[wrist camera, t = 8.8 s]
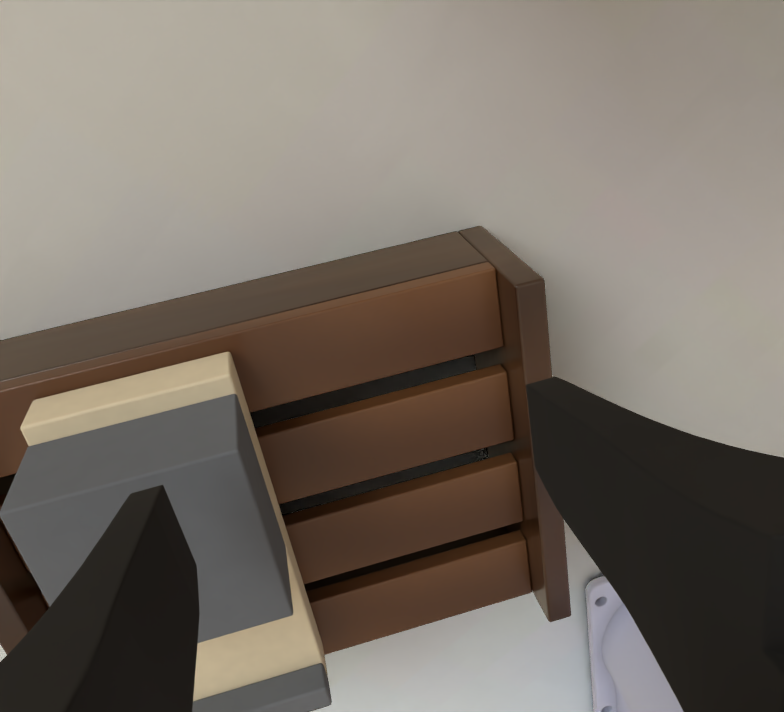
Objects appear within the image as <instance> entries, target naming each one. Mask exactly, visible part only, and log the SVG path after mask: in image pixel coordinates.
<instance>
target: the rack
mask: <svg viewBox="0 0 784 712" xmlns="http://www.w3.org/2000/svg"><path fill="white" fill-rule="evenodd" d="M224 352H230V353H231V355H232V358H233V362H234V365H235V368H236V371H237V374H238V377H239V381H240V384H241V387H242V390H243V393H244V396H245V400H246V403H247V406H248V409H249V412H254V411H258V410H262V409H266V408H270V407H273V406H277V405H281V404H285V403H289V402H293V401H297V400H300V399H304V398H308V397H312V396H316V395H320V394H323V393H327V392H331V391H335V390H339V389H343V388H346V387H350V386H354V385H358V384H362V383H366V382H370V381H373V380H377V379H381V378H385V377H389V376H393V375H396V374H400V373H404V372H408V371H412V370H416V369H419V368H423V367H427V366H431V365H435V364H439V363H443V362H446V361H450V360H454V359H458V358H462V357H466V356H469V355H473V354H474V355H475V362H476V369H477V370H474V371H471V372H467V373H463V374H459V375H455V376H452V377H448V378H444V379H440V380H436V381H433V382H429V383H425V384H421V385H417V386H414V387H410V388H406V389H402V390H398V391H395V392H391V393H387V394H383V395H379V396H376V397H372V398H368V399H364V400H360V401H356V402H353V403H349V404H345V405H341V406H337V407H334V408H330V409H326V410H322V411H318V412H315V413H311V414H307V415H303V416H299V417H296V418H292V419H288V420H284V421H280V422H277V423H273V424H269V425H265V426H261V427H258V428H255V431H256V435H257V438H258V441H259V444H260V447H261V450H262V454H263V457H264V460H265V463H266V466H267V469H268V473H269V476H270V479H271V482H272V485H273V488H274V492H275V495H276V498H277V501H278V504H282V503H286V502H290V501H293V500H297V499H300V498H304V497H308V496H311V495H315V494H319V493H322V492H326V491H329V490H333V489H337V488H340V487H344V486H348V485H351V484H355V483H359V482H362V481H366V480H369V479H373V478H377V477H380V476H384V475H388V474H391V473H395V472H398V471H402V470H406V469H409V468H413V467H417V466H420V465H424V464H427V463H431V462H435V461H438V460H442V459H446V458H449V457H453V456H457V455H460V454H464V453H467V452H471V451H475V450H478V449H482V448H486V447H487V450H488V459H484V460H480V461H477V462H473V463H470V464H466V465H462V466H459V467H455V468H452V469H448V470H444V471H441V472H437V473H434V474H430V475H426V476H423V477H419V478H416V479H412V480H408V481H405V482H401V483H398V484H394V485H390V486H387V487H383V488H379V489H376V490H372V491H369V492H365V493H361V494H358V495H354V496H351V497H347V498H343V499H340V500H336V501H333V502H329V503H325V504H322V505H318V506H315V507H311V508H307V509H304V510H300V511H297V512H293V513H289V514H286V515H282V517H283V520H284V523H285V526H286V530H287V533H288V536H289V539H290V542H291V546H292V549H293V552H294V555H295V558H296V561H297V565H298V568H299V571H300V574H301V577H302V580H303V584H304V587H305V590H306V593H307V596H308V599H309V603H310V606H311V609H312V612H313V615H314V618H315V622H316V625H317V628H318V631H319V634H320V637H321V641H322V644H323V650H324V655H325V654H329V653H332V652H335V651H339V650H342V649H345V648H349V647H352V646H355V645H359V644H362V643H365V642H369V641H372V640H375V639H378V638H382V637H385V636H388V635H392V634H395V633H398V632H402V631H405V630H408V629H412V628H415V627H418V626H422V625H425V624H428V623H432V622H435V621H438V620H442V619H445V618H448V617H452V616H455V615H458V614H462V613H465V612H468V611H472V610H475V609H478V608H482V607H485V606H488V605H492V604H495V603H498V602H502V601H505V600H508V599H511V598H515V597H518V596H521V595H525V594H528V593H531V592H532V591H533V593H534V595H535V597H536V599H537V600H538V602H539V604H540V606H541V608H542V610H543V612H544V614H545V615H546V617H547V619H548V621H549V622H553V621H556V620H559V619H563V618H566V617H569V616H571V607H570V595H569V582H568V570H567V557H566V545H565V532H564V520H563V517H562V516H561V514H560V513H559V511H558V510H557V509H556V507H555V505H554V503H553V501H552V500H551V498H550V496H549V494H548V492H547V490H546V488H545V486H544V484H543V482H542V480H541V479H540V477H539V475H538V473H537V471H536V469H535V464H534V455H533V445H532V436H531V427H530V418H529V409H528V400H527V391H526V384H530V383H534V382H537V381H541V380H545V379H548V378H552V370H551V358H550V345H549V333H548V320H547V308H546V295H545V283H544V279H543V278H542V277H541V276H540V275H539V274H537V273H536V272H535V271H534V270H533V269H532V268H530V267H529V266H528V265H527V264H526V263H524V262H523V261H522V260H521V259H520V258H519V257H517V256H516V255H515V254H514V253H513V252H511V251H510V250H509V249H508V248H507V247H506V246H504V245H503V244H502V243H501V242H500V241H499V240H497V239H496V238H495V237H494V236H493V235H491V234H490V233H489V232H488V231H487V230H486V229H484V228H483V227H482V226H477V227H473V228H469V229H465V230H461V231H459V232H456V231H455V232H451V233H447V234H443V235H439V236H434V237H430V238H426V239H422V240H418V241H414V242H409V243H405V244H401V245H397V246H393V247H389V248H384V249H380V250H376V251H372V252H368V253H364V254H359V255H355V256H351V257H347V258H343V259H339V260H335V261H330V262H326V263H322V264H318V265H314V266H310V267H305V268H301V269H297V270H293V271H289V272H285V273H280V274H276V275H272V276H268V277H264V278H260V279H255V280H251V281H247V282H243V283H239V284H235V285H230V286H226V287H222V288H218V289H214V290H210V291H205V292H201V293H197V294H193V295H189V296H185V297H180V298H176V299H172V300H168V301H164V302H160V303H155V304H151V305H147V306H143V307H139V308H135V309H130V310H126V311H122V312H118V313H114V314H110V315H105V316H101V317H97V318H93V319H89V320H85V321H80V322H76V323H72V324H68V325H64V326H60V327H55V328H51V329H47V330H43V331H39V332H35V333H31V334H26V335H22V336H18V337H14V338H10V339H6V340H1V341H0V510H1V507H2V505H3V503H4V501H5V498H6V496H7V494H8V491H9V489H10V487H11V484H12V482H13V480H14V477H15V475H16V473H17V471H18V468H19V466H20V464H21V461H22V459H23V457H24V454H25V452H26V450H27V448H28V447H29V446H28V443H27V441H26V439H25V437H24V435H23V433H22V431H21V429H20V427H21V425H22V423H23V420H24V418H25V416H26V414H27V412H28V410H29V408H30V406H31V404H32V401H34V400H36V399H40V398H44V397H48V396H52V395H56V394H60V393H64V392H68V391H72V390H76V389H80V388H84V387H88V386H92V385H96V384H100V383H104V382H108V381H112V380H116V379H120V378H124V377H128V376H132V375H136V374H140V373H144V372H148V371H152V370H156V369H160V368H164V367H168V366H172V365H176V364H180V363H184V362H188V361H192V360H196V359H200V358H204V357H208V356H212V355H216V354H220V353H224ZM49 607H50V606H49V604H48V603H47V601H46V599H45V597H44V595H43V594H42V592H41V590H40V588H39V586H38V584H37V583H36V581H35V579H34V577H33V575H32V574H31V572H30V570H29V568H28V566H27V565H26V563H25V561H24V559H23V557H22V555H21V554H20V552H19V550H18V548H17V546H16V545H15V543H14V541H13V539H12V537H11V536H10V534H9V532H8V530H7V528H6V526H5V525H4V523H3V521H2V519H1V517H0V644H1V646H2V647H3V649H4V651H5V652H6V654H7V655H8V654H9V653H10V652H11V651H12V649H13V648H14V647H15V646H16V645H17V644H18V643H19V642H20V641H21V640H22V639H23V638H24V636H25V635H26V634H27V633H28V632H29V631H30V630H31V629H32V628H33V626H34V625H35V624H36V623H37V622H38V621H39V619H40V618H41V617H42V616H43V615H44V613H45V612H46V611H47V610H48V609H49Z"/></svg>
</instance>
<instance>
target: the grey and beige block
mask: <svg viewBox="0 0 784 712" xmlns="http://www.w3.org/2000/svg"><path fill="white" fill-rule="evenodd" d="M20 429H21V431H22V433H23V435H24V437H25V439H26V441H27V443H28V446H29V447H28V448H27V450H26V452H25V454H24V457H23V459H22V461H21V464H20V466H19V468H18V471H17V473H16V475H15V477H14V480H13V482H12V484H11V487H10V489H9V491H8V494H7V496H6V498H5V501H4V503H3V505H2V507H1V510H0V517H1V519H2V521H3V523H4V525H5V526H6V528H7V530H8V532H9V534H10V536H11V537H12V539H13V541H14V543H15V545H16V546H17V548H18V550H19V552H20V554H21V555H22V557H23V559H24V561H25V563H26V565H27V566H28V568H29V570H30V572H31V574H32V575H33V577H34V579H35V581H36V583H37V584H38V586H39V588H40V590H41V592H42V594H43V595H44V597H45V599H46V601H47V603H48V604H49V606H51V605H52V603H53V602H54V601H55V600H56V598H57V597H58V596H59V594H60V593H61V592H62V590H63V589H64V588H65V587H66V585H67V584H68V583H69V581H70V580H71V579H72V577H73V576H74V575H75V574H76V572H77V571H78V570H79V568H80V567H81V565H82V564H83V563H84V561H85V560H86V558H87V557H88V555H89V554H90V552H91V551H92V550H93V548H94V547H95V545H96V544H97V542H98V541H99V539H100V538H101V537H102V535H103V534H104V532H105V531H106V529H107V528H108V526H109V525H110V523H111V522H112V520H113V518H114V517H115V515H116V514H117V512H118V511H119V509H120V508H121V506H122V505H123V504H124V502H125V501H126V499H127V498H128V496H129V495H130V494H131V493H134V492H138V491H141V490H145V489H149V488H152V487H156V486H160V485H163V486H164V488H165V491H166V493H167V495H168V498H169V500H170V503H171V505H172V507H173V510H174V512H175V515H176V517H177V519H178V522H179V524H180V527H181V529H182V531H183V534H184V536H185V539H186V541H187V543H188V546H189V548H190V551H191V553H192V555H193V558H194V560H195V563H196V565H197V578H198V591H199V612H200V614H199V630H198V644H197V657H196V670H195V682H194V695H193V707H192V712H310V711H313V710H316V709H320V708H323V707H326V706H329V705H331V702H332V700H331V694H330V688H329V682H328V677H327V669H326V663H325V657H324V650H323V644H322V641H321V637H320V634H319V631H318V628H317V625H316V622H315V618H314V615H313V612H312V609H311V606H310V603H309V599H308V596H307V593H306V590H305V587H304V584H303V580H302V577H301V574H300V571H299V568H298V565H297V561H296V558H295V555H294V552H293V549H292V546H291V542H290V539H289V536H288V533H287V530H286V526H285V523H284V520H283V517H282V514H281V511H280V507H279V504H278V501H277V498H276V495H275V492H274V488H273V485H272V482H271V479H270V476H269V473H268V469H267V466H266V463H265V460H264V457H263V454H262V450H261V447H260V444H259V441H258V438H257V435H256V431H255V428H254V425H253V422H252V419H251V416H250V412H249V409H248V406H247V403H246V400H245V396H244V393H243V390H242V387H241V384H240V381H239V377H238V374H237V371H236V368H235V365H234V362H233V358H232V355H231V353H230V352H224V353H220V354H216V355H212V356H208V357H204V358H200V359H196V360H192V361H188V362H184V363H180V364H176V365H172V366H168V367H164V368H160V369H156V370H152V371H148V372H144V373H140V374H136V375H132V376H128V377H124V378H120V379H116V380H112V381H108V382H104V383H100V384H96V385H92V386H88V387H84V388H80V389H76V390H72V391H68V392H64V393H60V394H56V395H52V396H48V397H44V398H40V399H36V400H34V401H32V404H31V406H30V408H29V410H28V412H27V414H26V416H25V418H24V420H23V423H22V425H21V427H20Z"/></svg>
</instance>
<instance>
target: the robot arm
mask: <svg viewBox="0 0 784 712" xmlns="http://www.w3.org/2000/svg"><path fill="white" fill-rule="evenodd" d="M526 391H527V400H528V409H529V418H530V427H531V436H532V445H533V455H534V464H535V469H536V471H537V473H538V475H539V477H540V479H541V480H542V482H543V484H544V486H545V488H546V490H547V492H548V494H549V496H550V498H551V500H552V501H553V503H554V505H555V507H556V509H557V510H558V511H559V513H560V514H561V516H562V517H563V519H564V520H565V522H566V523H567V524H568V526H569V527H570V529H571V530H572V531H573V533H574V534H575V536H576V537H577V538H578V540H579V541H580V543H581V544H582V545H583V547H584V548H585V550H586V551H587V552H588V554H589V555H590V556H591V558H592V559H593V561H594V562H595V563H596V565H597V566H598V568H599V569H600V570H601V572H602V573H603V575H604V576H602V577H599V578H596V579H593V580H592V581H590V582H589V583H588V585H587V586H586V605H587V620H588V635H589V651H590V666H591V681H592V696H593V712H784V458H782V457H777V456H773V455H768V454H763V453H758V452H753V451H749V450H745V449H741V448H737V447H733V446H729V445H725V444H722V443H718V442H715V441H712V440H708V439H705V438H701V437H698V436H695V435H692V434H689V433H686V432H683V431H680V430H677V429H675V428H672V427H669V426H667V425H664V424H661V423H659V422H656V421H653V420H651V419H648V418H646V417H644V416H641V415H639V414H636V413H634V412H632V411H629V410H627V409H625V408H623V407H620V406H618V405H616V404H614V403H611V402H609V401H607V400H605V399H603V398H601V397H599V396H596V395H594V394H592V393H590V392H588V391H586V390H584V389H582V388H579V387H577V386H575V385H573V384H571V383H569V382H566V381H564V380H562V379H559V378H557V377H552V378H548V379H545V380H541V381H537V382H534V383H530V384H526ZM598 598H599V599H598ZM199 614H200V612H199V591H198V578H197V565H196V563H195V560H194V558H193V555H192V553H191V551H190V548H189V546H188V543H187V541H186V539H185V536H184V534H183V531H182V529H181V527H180V524H179V522H178V519H177V517H176V515H175V512H174V510H173V507H172V505H171V503H170V500H169V498H168V495H167V493H166V491H165V488H164V486H163V485H160V486H156V487H152V488H149V489H145V490H141V491H138V492H134V493H131V494H130V495H129V496H128V498H127V499H126V501H125V502H124V504H123V505H122V506H121V508H120V509H119V511H118V512H117V514H116V515H115V517H114V518H113V520H112V522H111V523H110V525H109V526H108V528H107V529H106V531H105V532H104V534H103V535H102V537H101V538H100V539H99V541H98V542H97V544H96V545H95V547H94V548H93V550H92V551H91V552H90V554H89V555H88V557H87V558H86V560H85V561H84V563H83V564H82V565H81V567H80V568H79V570H78V571H77V572H76V574H75V575H74V576H73V577H72V579H71V580H70V581H69V583H68V584H67V585H66V587H65V588H64V589H63V590H62V592H61V593H60V594H59V596H58V597H57V598H56V600H55V601H54V602H53V603H52V605H51V606H50V607H49V609H48V610H47V611H46V612H45V613H44V615H43V616H42V617H41V618H40V619H39V621H38V622H37V623H36V624H35V625H34V626H33V628H32V629H31V630H30V631H29V632H28V633H27V634H26V635H25V636H24V638H23V639H22V640H21V641H20V642H19V643H18V644H17V645H16V646H15V647H14V648H13V649H12V651H11V652H10V653H9V654H8V655H7V656H6V657H5V658H4V659H3V660H2V661H1V662H0V712H192V707H193V695H194V682H195V670H196V657H197V644H198V630H199Z"/></svg>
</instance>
